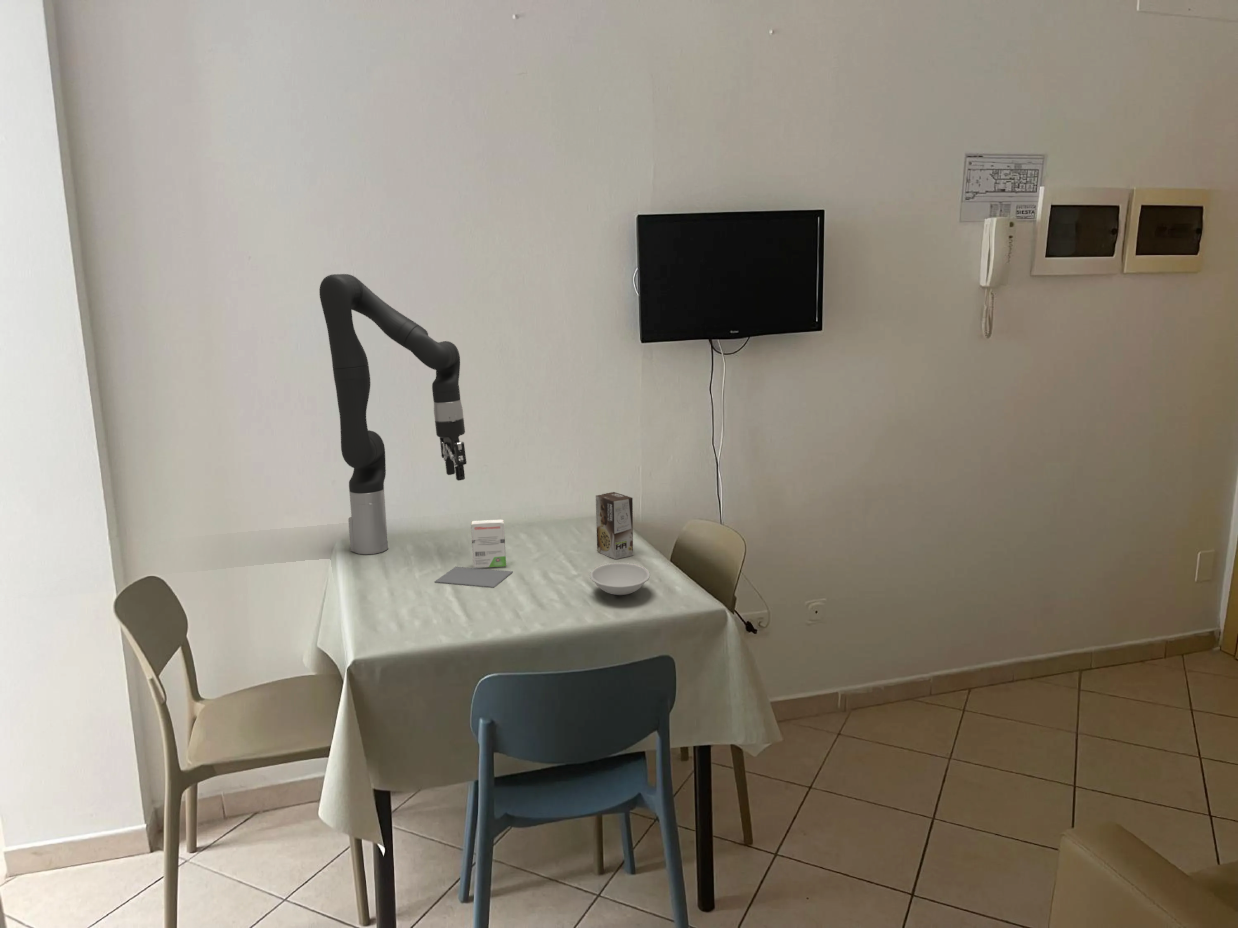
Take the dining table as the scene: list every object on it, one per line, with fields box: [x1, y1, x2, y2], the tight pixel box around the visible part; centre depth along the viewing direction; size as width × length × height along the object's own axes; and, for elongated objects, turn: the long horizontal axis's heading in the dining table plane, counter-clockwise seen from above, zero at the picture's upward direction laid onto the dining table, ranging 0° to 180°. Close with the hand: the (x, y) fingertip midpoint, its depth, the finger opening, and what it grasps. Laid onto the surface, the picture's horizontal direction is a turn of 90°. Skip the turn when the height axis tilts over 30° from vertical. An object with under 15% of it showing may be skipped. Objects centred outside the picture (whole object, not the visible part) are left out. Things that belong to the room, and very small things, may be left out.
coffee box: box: [595, 491, 634, 560], centre depth 248 cm, size 9×6×16 cm
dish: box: [588, 562, 651, 596], centre depth 219 cm, size 18×14×5 cm
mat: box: [434, 566, 513, 589], centre depth 232 cm, size 16×12×1 cm
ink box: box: [470, 519, 507, 569], centre depth 240 cm, size 9×5×12 cm, turn 98°
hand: (455, 477), depth 247 cm, fingers open, 8 cm apart
